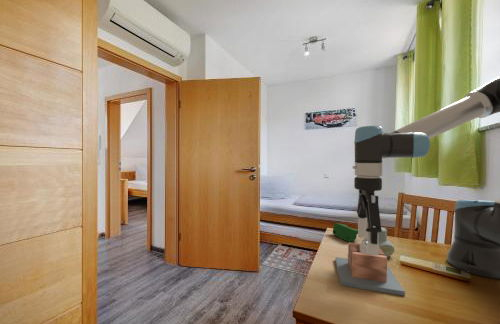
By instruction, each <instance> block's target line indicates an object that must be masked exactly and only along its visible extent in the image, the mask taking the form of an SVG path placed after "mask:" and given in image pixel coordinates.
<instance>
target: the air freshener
mask: <svg viewBox="0 0 500 324" xmlns="http://www.w3.org/2000/svg"><path fill="white" fill-rule="evenodd" d="M373 227H375V226H373ZM381 229H382V232H379V247H380V249H381V250H382V251H383V253H384V254H385V256H386V257H387V258H388V257H390V256H391V255H393V254H394V253H395V249H396V248H395V246H394V245H393V243H392V242H391V241H390V240H388V238H387V237H388V230H387V228H386V227H383V226H381ZM363 241H367V238H362V240H361V242H363Z"/></svg>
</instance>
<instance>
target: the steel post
mask: <svg viewBox="0 0 500 324" xmlns="http://www.w3.org/2000/svg"><path fill="white" fill-rule="evenodd" d="M359 244H360V253H367V241H363V242H362V241H361V242H360V243H359Z"/></svg>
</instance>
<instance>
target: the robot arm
mask: <svg viewBox="0 0 500 324" xmlns="http://www.w3.org/2000/svg"><path fill="white" fill-rule="evenodd" d="M498 113H500V75H499V76H497V77H496V78H494V79H492V80H490V81H489V82H487V83H485V84H483V85H482V86H480V87H477V88H476V89H473V90H472V91H470V92H468V93H466V94H465V95H464V97H463V98H462V99H460V100H458V101H455V102H453V103H452V104H450V105H446V106H445V107H443V108H440V109H438V110H436V111H434V112H432V113H430V114H428V115H426V116H424V117H421V118H420V119H418V120H415V121H413V122H411V123H408V124H407V125H404V126H402V127H401V128H398V129H395V130H394V131H391V132H384V130H383V127H382V126H380V125H365V126H358V127H357V128H356V129H355V133H354V165H353V166H352V169H353V170H354V175H355V176H356V177H354V181H353V182H354V185H353V186H354V189H355V190H358V200H357V201H358V202H357V211H356V214H357V217H358V218H357V230H358V234H357V238H361V239H364V238H367V254H371V255H379V232H382V229H381V227H382V224H381V223H382V222H381V215H380V214H381V213H380V207H379V199H380V198H379V196H378V195H375V192H377V191H382V189H383V179H382V178H381V177H383V159H386V158H399V159H400V158H405V159H406V158H412V159H414V158H423V157H425V156H427V155H428V153H429V151H430V148H431V139H432V138H435V137H436V136H439V135H441V134H444V133H446V132H448V131H450V130H452V129H455V128H457V127H459V126H462V125H465V124H466V123H468V122H470V121H472V120H475V119H477V118H478V119H483V118H487V117H489V116H492V115H495V114H498ZM373 226H375V227H373ZM453 234H454V237H453V242H452V243H451V246H450V247H449V250H448V251H447V253H446V261H447V263H449V264H450V265H451V266H453V267H455V268H457V269H460V270H461V269H462V271H464V270H466V271H465V272H467V271H469V272H468V273H469V274H470V273H471V274H473V275H478V276H481V277H485V278H491V279H498V280H499V279H500V198H498V199H496V200H484V199H483V200H482V199H481V200H479V199H458V200H457V201H456V202H455V205H454V233H453Z"/></svg>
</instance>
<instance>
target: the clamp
mask: <svg viewBox="0 0 500 324" xmlns="http://www.w3.org/2000/svg"><path fill="white" fill-rule="evenodd" d="M332 234H335V235H337V236H338V237H337V236H336V237H337V238H339V237H340V238H339V239H341V238H342V239H341V240H343V239H344V241H345V240H346V241H345V242H348V243H355V241H356V240H357V238H358V228H357V229H355V228H352V227H350V226H348V225H347V224H343V223H339V222H334V224H333V229H332ZM335 235H334V236H335ZM355 239H356V240H355Z"/></svg>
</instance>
